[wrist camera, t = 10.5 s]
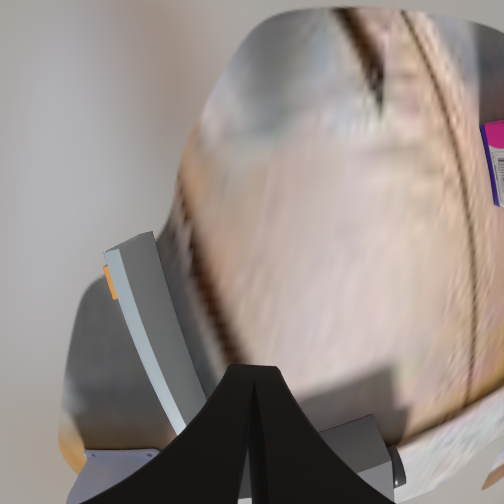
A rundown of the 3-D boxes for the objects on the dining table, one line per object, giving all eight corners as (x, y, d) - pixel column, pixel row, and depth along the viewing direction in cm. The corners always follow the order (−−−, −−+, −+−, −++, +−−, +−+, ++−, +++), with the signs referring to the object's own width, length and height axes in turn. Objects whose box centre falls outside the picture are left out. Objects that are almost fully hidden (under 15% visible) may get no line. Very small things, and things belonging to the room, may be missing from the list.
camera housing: (264, 494, 22) (264, 539, 17) (231, 452, 21) (226, 506, 15) (392, 458, 21) (409, 501, 15) (386, 408, 19) (410, 459, 14)
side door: (231, 458, 20) (227, 499, 16) (214, 459, 20) (208, 499, 16) (152, 231, 16) (118, 248, 12) (130, 236, 16) (92, 255, 12)
